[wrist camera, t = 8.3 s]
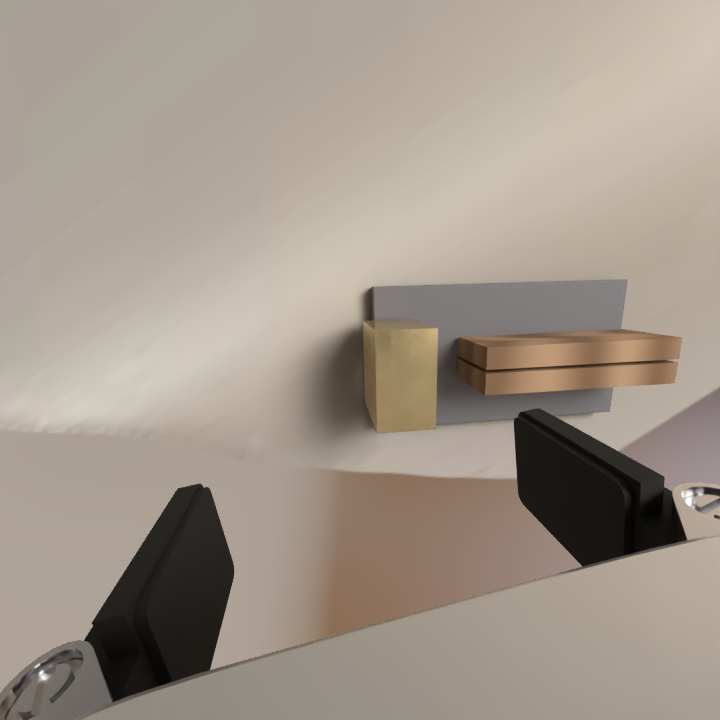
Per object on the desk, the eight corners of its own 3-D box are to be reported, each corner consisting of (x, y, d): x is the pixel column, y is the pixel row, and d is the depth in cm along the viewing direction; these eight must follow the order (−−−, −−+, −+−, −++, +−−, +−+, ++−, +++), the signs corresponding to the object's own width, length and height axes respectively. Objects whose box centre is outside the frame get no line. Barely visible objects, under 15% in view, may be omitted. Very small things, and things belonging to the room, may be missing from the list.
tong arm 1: (458, 355, 29) (486, 370, 24) (458, 336, 28) (487, 347, 24) (621, 347, 30) (678, 359, 26) (623, 329, 30) (682, 337, 25)
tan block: (364, 401, 29) (377, 433, 23) (362, 320, 27) (375, 330, 21) (411, 399, 29) (436, 429, 23) (411, 318, 28) (438, 328, 22)
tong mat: (374, 423, 31) (376, 428, 30) (371, 286, 28) (373, 286, 27) (599, 407, 33) (609, 411, 32) (615, 279, 31) (627, 279, 29)
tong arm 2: (457, 377, 29) (485, 395, 24) (458, 359, 29) (486, 373, 24) (618, 367, 31) (674, 383, 26) (620, 350, 30) (678, 362, 26)
